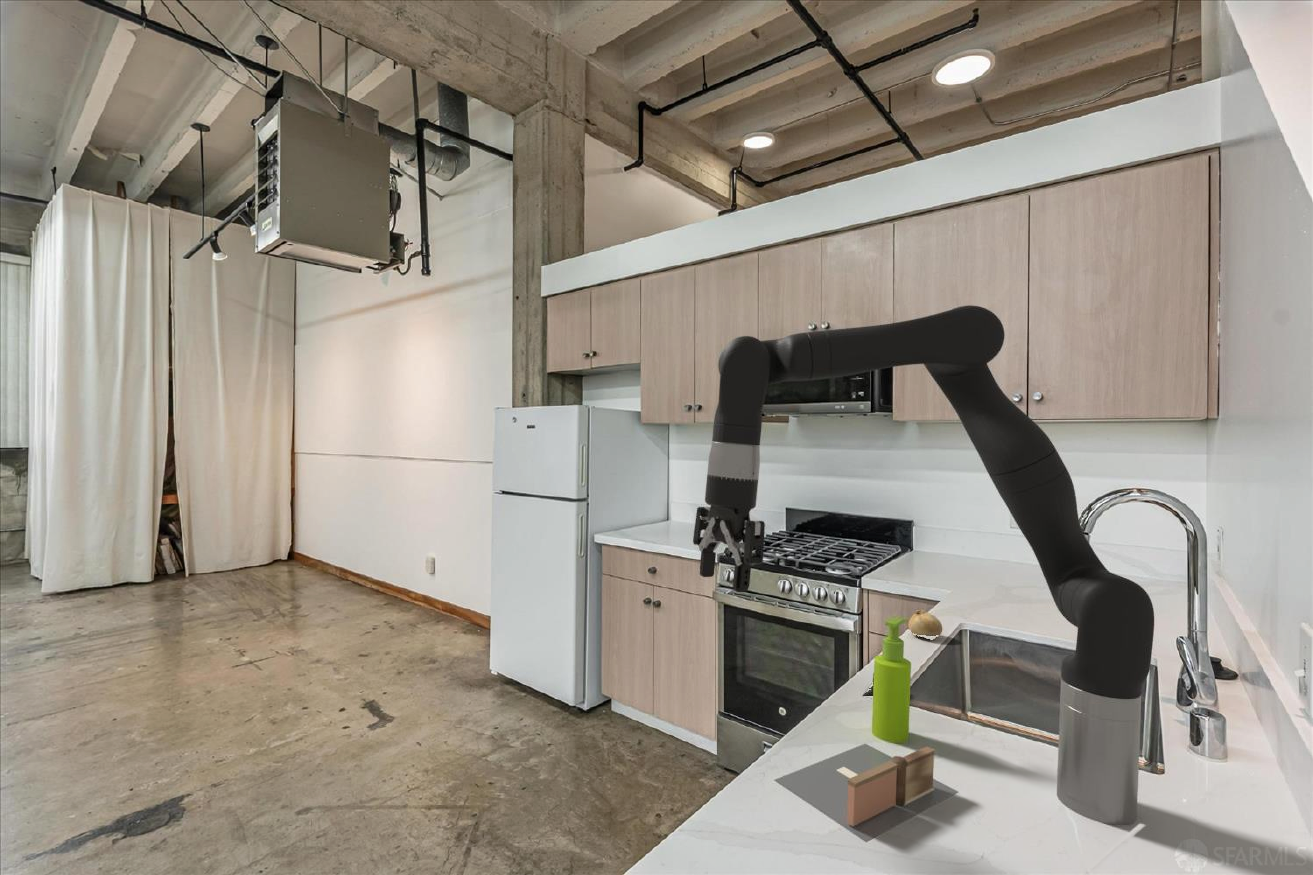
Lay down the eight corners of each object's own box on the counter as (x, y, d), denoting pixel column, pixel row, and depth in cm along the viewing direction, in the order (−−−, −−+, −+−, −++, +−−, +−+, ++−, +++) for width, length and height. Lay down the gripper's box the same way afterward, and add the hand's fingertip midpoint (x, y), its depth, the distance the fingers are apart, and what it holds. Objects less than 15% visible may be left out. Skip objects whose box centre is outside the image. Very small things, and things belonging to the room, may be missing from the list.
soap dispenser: (915, 734, 107) (920, 619, 107) (900, 748, 102) (904, 627, 102) (882, 723, 111) (886, 612, 111) (866, 736, 106) (870, 619, 106)
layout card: (865, 745, 102) (865, 743, 102) (958, 794, 89) (958, 791, 89) (774, 782, 91) (774, 779, 91) (865, 844, 77) (865, 841, 77)
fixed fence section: (923, 783, 91) (925, 742, 91) (935, 789, 90) (936, 748, 90) (888, 800, 86) (889, 758, 86) (899, 807, 85) (901, 764, 85)
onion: (932, 633, 165) (933, 606, 165) (947, 643, 157) (948, 615, 157) (903, 632, 164) (904, 605, 164) (916, 642, 156) (917, 614, 156)
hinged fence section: (888, 800, 86) (890, 760, 86) (896, 805, 85) (897, 764, 85) (846, 821, 81) (847, 779, 81) (853, 826, 80) (855, 783, 80)
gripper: (784, 481, 87) (773, 595, 87) (725, 470, 99) (716, 571, 99) (741, 478, 83) (730, 598, 83) (685, 468, 95) (676, 572, 95)
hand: (722, 583), depth 91 cm, fingers open, 8 cm apart
